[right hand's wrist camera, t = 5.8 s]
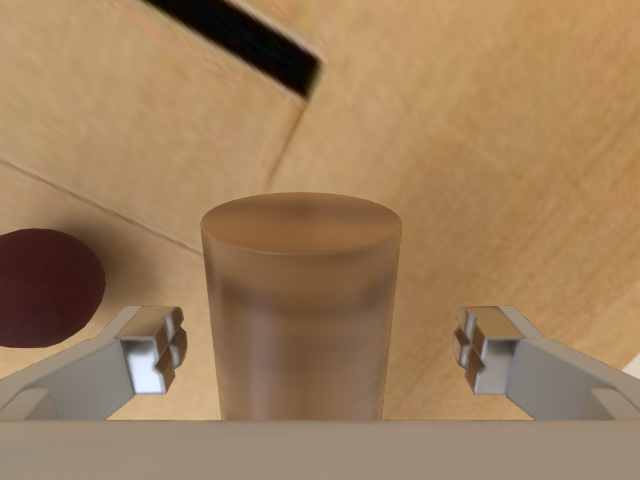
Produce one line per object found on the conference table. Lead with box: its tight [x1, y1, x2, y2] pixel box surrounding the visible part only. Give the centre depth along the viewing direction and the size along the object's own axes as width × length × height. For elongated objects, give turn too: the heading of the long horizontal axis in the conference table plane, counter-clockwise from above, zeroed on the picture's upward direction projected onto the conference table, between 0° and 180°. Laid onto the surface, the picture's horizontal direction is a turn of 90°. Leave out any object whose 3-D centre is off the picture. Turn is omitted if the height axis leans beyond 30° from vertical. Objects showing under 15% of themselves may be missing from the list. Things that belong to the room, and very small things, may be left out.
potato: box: [0, 228, 106, 348], centre depth 22 cm, size 7×8×7 cm
